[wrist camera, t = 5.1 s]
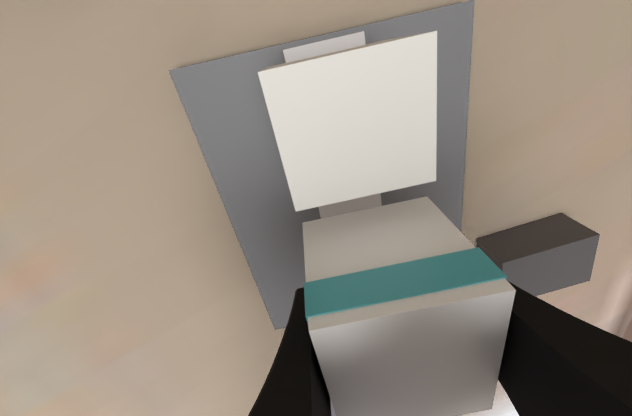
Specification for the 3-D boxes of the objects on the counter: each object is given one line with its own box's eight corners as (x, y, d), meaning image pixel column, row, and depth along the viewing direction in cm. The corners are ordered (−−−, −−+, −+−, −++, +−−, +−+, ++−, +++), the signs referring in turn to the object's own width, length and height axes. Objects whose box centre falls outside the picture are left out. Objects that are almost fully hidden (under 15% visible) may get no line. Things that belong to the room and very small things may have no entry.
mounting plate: (450, 281, 22) (514, 368, 16) (275, 318, 22) (270, 419, 16) (462, 3, 13) (611, -44, 7) (176, 69, 14) (83, 79, 7)
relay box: (553, 253, 22) (589, 280, 19) (476, 276, 22) (502, 305, 20) (558, 211, 20) (599, 234, 17) (474, 236, 20) (502, 263, 18)
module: (428, 296, 14) (493, 409, 9) (326, 316, 14) (341, 437, 9) (428, 194, 11) (518, 287, 7) (300, 221, 11) (306, 330, 7)
